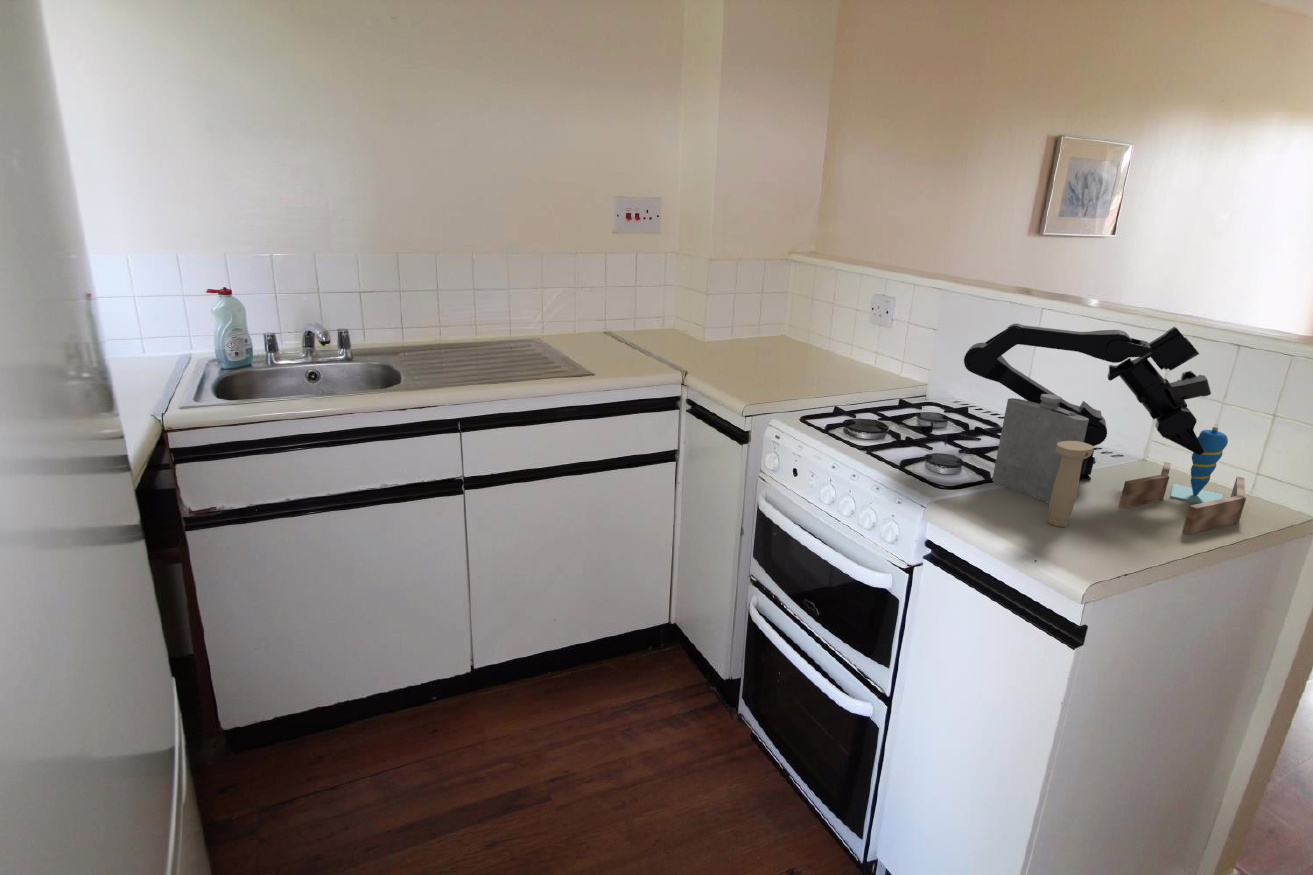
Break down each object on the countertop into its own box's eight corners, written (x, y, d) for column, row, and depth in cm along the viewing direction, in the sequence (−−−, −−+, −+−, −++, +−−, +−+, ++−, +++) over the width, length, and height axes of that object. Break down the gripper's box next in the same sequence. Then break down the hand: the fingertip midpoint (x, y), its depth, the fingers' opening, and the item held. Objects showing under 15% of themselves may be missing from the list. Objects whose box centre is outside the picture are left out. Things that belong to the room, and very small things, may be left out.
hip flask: (988, 481, 156) (1006, 387, 150) (1000, 477, 158) (1019, 385, 152) (1062, 509, 144) (1085, 407, 137) (1074, 505, 146) (1098, 405, 139)
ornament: (1199, 490, 154) (1219, 420, 150) (1217, 500, 150) (1239, 428, 145) (1174, 490, 154) (1193, 419, 150) (1192, 499, 149) (1213, 427, 145)
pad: (1221, 508, 147) (1222, 507, 146) (1170, 497, 151) (1170, 495, 151) (1221, 496, 153) (1222, 494, 153) (1172, 485, 158) (1173, 483, 158)
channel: (1146, 530, 136) (1153, 504, 134) (1089, 478, 160) (1094, 456, 158) (1301, 543, 133) (1310, 517, 131) (1219, 489, 157) (1226, 466, 155)
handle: (1081, 526, 136) (1100, 447, 131) (1057, 532, 133) (1075, 452, 129) (1057, 516, 140) (1075, 439, 135) (1033, 521, 138) (1050, 443, 133)
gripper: (1195, 369, 139) (1251, 437, 138) (1181, 352, 155) (1231, 412, 153) (1135, 403, 144) (1188, 469, 143) (1128, 383, 160) (1175, 442, 159)
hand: (1197, 446), depth 150 cm, fingers open, 9 cm apart
